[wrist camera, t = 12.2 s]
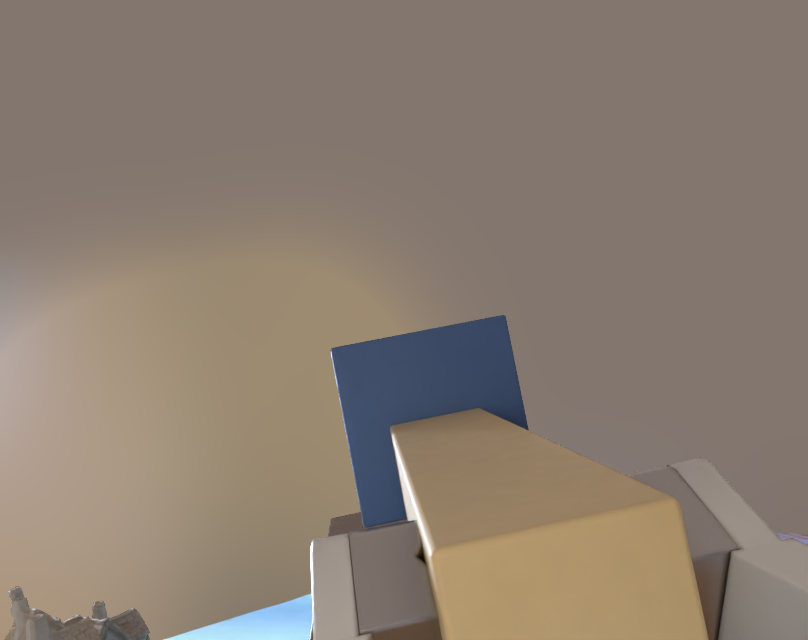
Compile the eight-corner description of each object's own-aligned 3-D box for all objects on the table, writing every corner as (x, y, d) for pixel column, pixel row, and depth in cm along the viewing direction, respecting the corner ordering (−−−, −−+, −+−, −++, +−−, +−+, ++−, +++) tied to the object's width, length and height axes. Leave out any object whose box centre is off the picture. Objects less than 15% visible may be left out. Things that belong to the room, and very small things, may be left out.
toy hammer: (852, 732, 6) (744, 241, 7) (357, 853, 6) (261, 333, 6) (497, 457, 24) (471, 325, 24) (364, 485, 24) (339, 350, 24)
